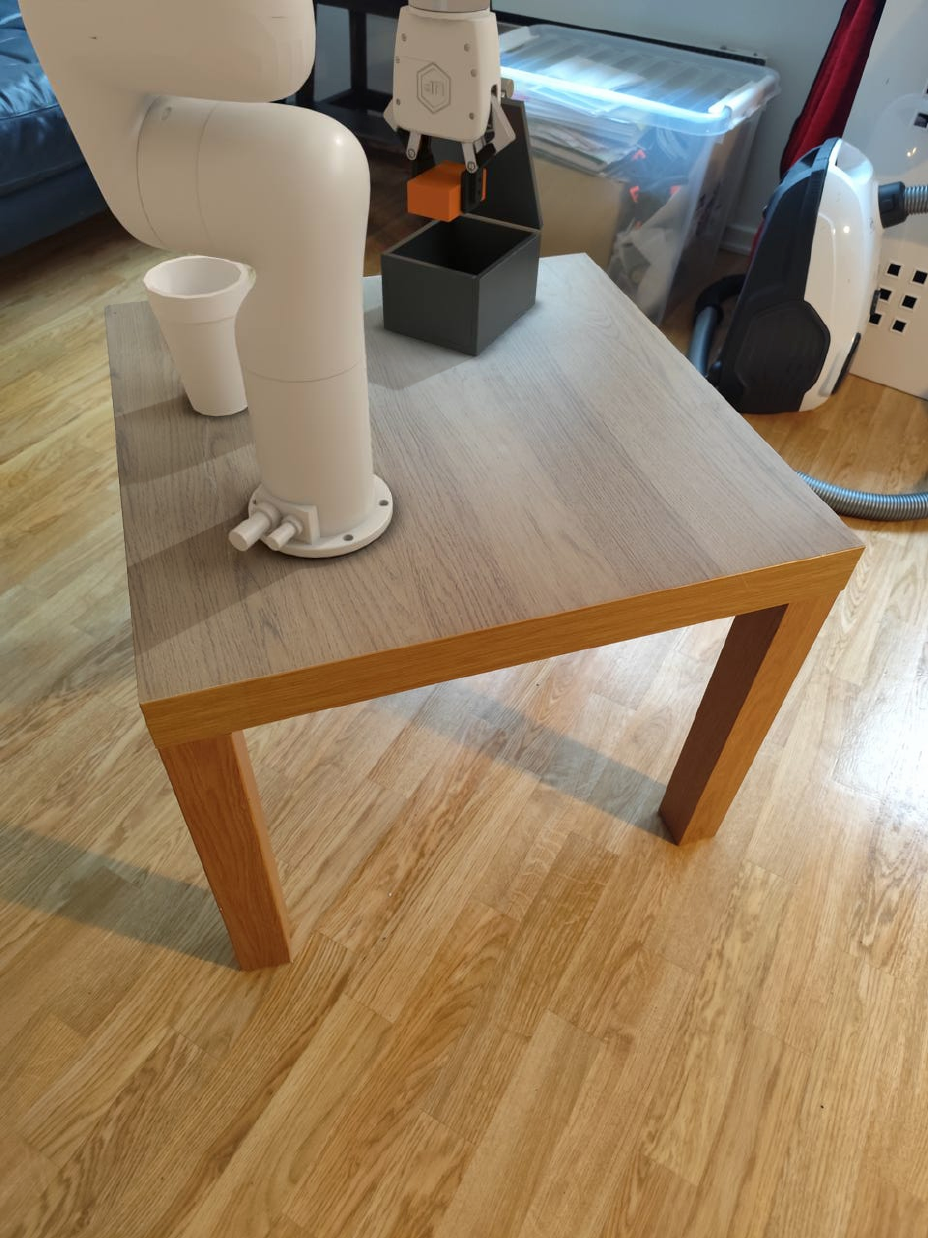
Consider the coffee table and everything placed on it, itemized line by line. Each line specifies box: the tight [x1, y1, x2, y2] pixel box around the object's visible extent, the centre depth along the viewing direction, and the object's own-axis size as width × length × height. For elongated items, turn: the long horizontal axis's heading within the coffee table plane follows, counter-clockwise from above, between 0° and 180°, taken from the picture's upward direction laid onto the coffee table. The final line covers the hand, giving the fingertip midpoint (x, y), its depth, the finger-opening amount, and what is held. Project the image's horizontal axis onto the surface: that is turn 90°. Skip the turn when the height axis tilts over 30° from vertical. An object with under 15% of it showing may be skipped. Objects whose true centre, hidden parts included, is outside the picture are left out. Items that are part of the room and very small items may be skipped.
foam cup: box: [142, 255, 252, 417], centre depth 81 cm, size 10×9×13 cm
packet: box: [406, 161, 486, 222], centre depth 87 cm, size 8×5×3 cm, turn 151°
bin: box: [380, 213, 543, 357], centre depth 97 cm, size 16×13×9 cm
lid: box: [430, 76, 544, 231], centre depth 91 cm, size 16×13×5 cm
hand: (446, 201), depth 88 cm, fingers closed on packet, 5 cm apart
